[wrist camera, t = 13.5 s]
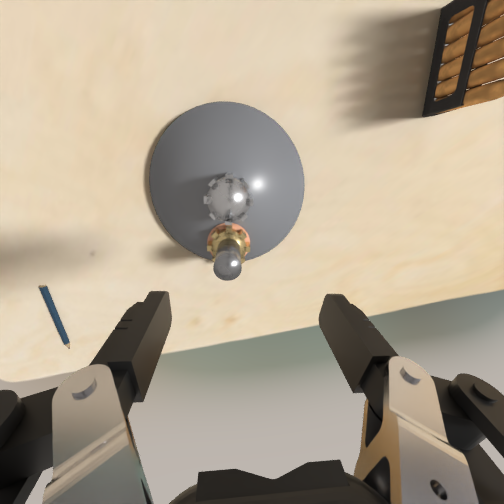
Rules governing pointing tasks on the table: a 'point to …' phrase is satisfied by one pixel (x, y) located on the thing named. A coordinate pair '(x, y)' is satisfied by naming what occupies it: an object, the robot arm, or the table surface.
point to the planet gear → (228, 252)
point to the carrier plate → (226, 177)
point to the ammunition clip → (466, 56)
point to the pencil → (54, 315)
